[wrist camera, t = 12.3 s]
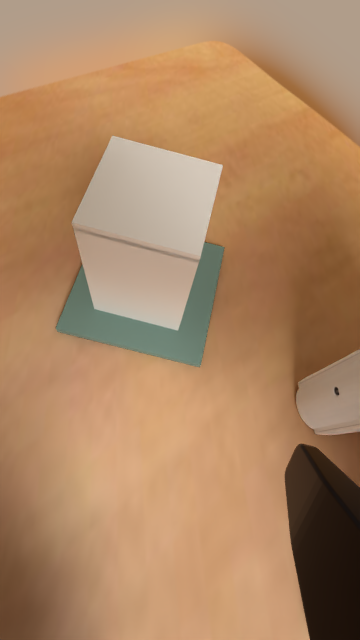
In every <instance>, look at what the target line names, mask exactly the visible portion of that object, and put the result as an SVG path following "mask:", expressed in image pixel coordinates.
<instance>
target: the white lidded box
mask: <svg viewBox="0 0 360 640" xmlns="http://www.w3.org/2000/svg"><path fill="white" fill-rule="evenodd" d="M222 167H223V165H221V164H217V163H213V162H210V161H206V160H202V159H198V158H195V157H191V156H187V155H183V154H180V153H176V152H172V151H168V150H165V149H161V148H157V147H153V146H150V145H146V144H142V143H138V142H135V141H131V140H127V139H124V138H120V137H116V136H112V138H111V140H110V142H109V144H108V146H107V148H106V150H105V152H104V155H103V157H102V159H101V161H100V163H99V165H98V167H97V169H96V171H95V174H94V176H93V178H92V180H91V182H90V184H89V186H88V188H87V191H86V193H85V195H84V197H83V199H82V201H81V203H80V205H79V207H78V210H77V212H76V214H75V216H74V218H73V220H72V226H73V230H74V234H75V237H76V241H77V245H78V249H79V253H80V256H81V260H82V264H83V268H84V272H85V275H86V279H87V283H88V287H89V291H90V294H91V298H92V302H93V306H94V309H96V310H100V311H104V312H108V313H112V314H116V315H120V316H123V317H127V318H131V319H135V320H139V321H143V322H147V323H151V324H154V325H158V326H162V327H166V328H170V329H174V330H178V329H179V326H180V323H181V319H182V316H183V313H184V310H185V306H186V303H187V300H188V296H189V293H190V290H191V287H192V283H193V280H194V277H195V274H196V270H197V267H198V264H199V260H200V257H201V253H202V249H203V245H204V241H205V237H206V233H207V229H208V225H209V221H210V216H211V212H212V208H213V204H214V200H215V196H216V192H217V188H218V184H219V179H220V175H221V171H222Z"/></svg>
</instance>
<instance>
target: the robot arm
mask: <svg viewBox="0 0 360 640" xmlns="http://www.w3.org/2000/svg"><path fill="white" fill-rule="evenodd" d="M285 487H286V497H287V508H288V518H289V529H290V538H291V545H292V551H293V556H294V561H295V566H296V571H297V576H298V582H299V587H300V592H301V597H302V602H303V607H304V612H305V617H306V622H307V627H308V632H309V637H310V640H360V488H359V487H358V486H357V485H356V484H355V483H354V482H353V481H352V480H351V479H350V478H349V477H348V476H346V475H345V474H344V473H343V472H342V471H341V470H340V469H339V468H338V467H337V466H336V465H335V464H334V463H333V462H331V461H330V460H329V459H328V458H327V457H326V456H325V455H324V454H323V453H322V452H321V451H320V450H319V449H317V448H316V447H313V446H309V445H305V444H299V445H297V447H296V448H295V450H294V452H293V455H292V457H291V459H290V461H289V463H288V465H287V468H286V471H285Z"/></svg>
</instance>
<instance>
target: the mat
mask: <svg viewBox="0 0 360 640" xmlns="http://www.w3.org/2000/svg"><path fill="white" fill-rule="evenodd" d="M223 252H224V247H222V246H218V245H214V244H210V243H206V242H204V245H203V249H202V253H201V257H200V260H199V264H198V267H197V270H196V274H195V277H194V280H193V283H192V287H191V290H190V293H189V296H188V300H187V303H186V306H185V310H184V313H183V316H182V319H181V323H180V326H179V329H178V330H174V329H170V328H166V327H162V326H158V325H154V324H151V323H147V322H143V321H139V320H135V319H131V318H127V317H123V316H120V315H116V314H112V313H108V312H104V311H100V310H96V309H94V306H93V302H92V298H91V294H90V291H89V287H88V283H87V279H86V275H85V272H84V268H83V264H82V266H81V269H80V271H79V274H78V276H77V278H76V281H75V283H74V286H73V288H72V290H71V293H70V295H69V298H68V300H67V302H66V305H65V307H64V310H63V312H62V314H61V317H60V319H59V322H58V324H57V326H56V330H57V331H58V332H61V333H65V334H69V335H73V336H77V337H81V338H85V339H89V340H93V341H97V342H101V343H105V344H109V345H113V346H117V347H121V348H125V349H129V350H133V351H137V352H141V353H145V354H149V355H153V356H157V357H161V358H165V359H169V360H173V361H177V362H181V363H185V364H189V365H193V366H197V367H200V365H201V362H202V357H203V352H204V347H205V342H206V337H207V332H208V327H209V322H210V317H211V312H212V307H213V302H214V297H215V292H216V287H217V282H218V277H219V272H220V267H221V262H222V257H223Z"/></svg>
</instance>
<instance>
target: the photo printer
mask: <svg viewBox="0 0 360 640" xmlns="http://www.w3.org/2000/svg"><path fill="white" fill-rule="evenodd" d="M298 386H299V389H298V391H297V394H296V405H297V409H298V412H299V414H300V416H301V418H302V420H303V421H304V422H305V423H306V424H307V425H308V426H309V427H310V428H312V429H314V432H315V434H318V435H339V434H346V433H354V432H360V349H359V350H357V351H355V352H353V353H351V354H349V355H348V356H346V357H344V358H342V359H340V360H338V361H336V362H334V363H332V364H331V365H329V366H327V367H325V368H323V369H321V370H319V371H317V372H315V373H313V374H311V375H310V376H308V377H306V378H304V379H302V380H301V381H299V382H298Z"/></svg>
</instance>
